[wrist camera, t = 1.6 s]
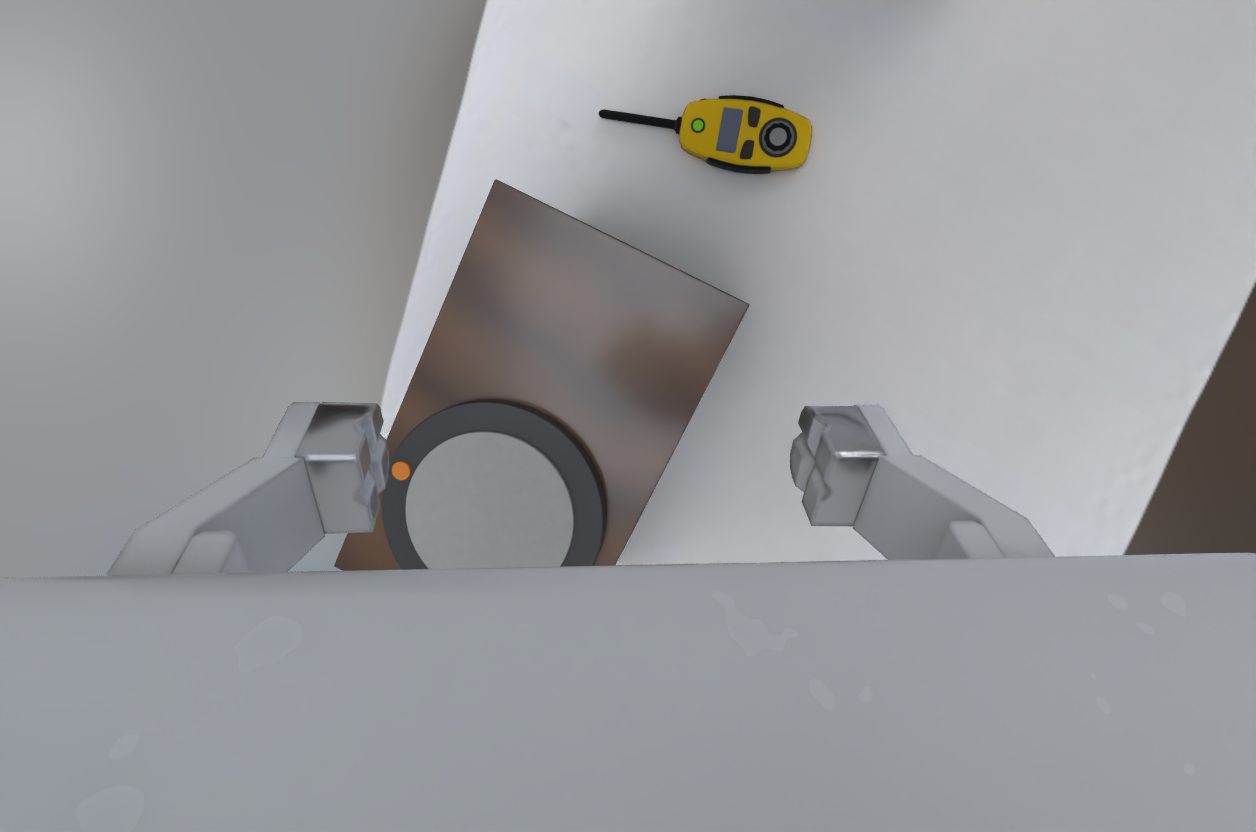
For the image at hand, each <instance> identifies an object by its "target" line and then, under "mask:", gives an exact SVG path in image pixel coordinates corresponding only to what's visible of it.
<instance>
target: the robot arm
mask: <svg viewBox="0 0 1256 832" xmlns="http://www.w3.org/2000/svg"><path fill="white" fill-rule="evenodd" d="M798 423H799V426H800V428H801V430H802V433H801V434H800V435H799V436H798V437H797V438H795V439H794V440H793V444H792V449H791V453H790V469H791V474H792V478H793V481H794V483H795V486H796V487H798V488H799V489H801V490H802V491H803V492H804V495H803V499H802V504H803V506H804V509H805V511H806V513H807V516H808V518H809V521H810V523H811V526H854V527H853V529H854V530H856V531H857V532H858V533H859V534H860V535H861V536H862V537H863V538H864V539H866V540H867V541H868V542H869V543H870V544H871V545H872V546H873V547H874V548H876V549H877V550H878V551H879V552H880V553H881V554H882V555H883V556H884V557H886V558H887V559H888V560H868V561H818V562H768V563H717V564H668V565H617V566H566V567H514V568H463V569H412V570H360V571H309V572H288V571H289V570H290V569H291V568H292V567H293V566H294V565H295V564H296V563H297V562H298V561H300V560H301V559H302V558H303V557H304V556H305V555H306V554H307V553H308V552H309V551H310V550H311V549H312V548H313V547H314V546H315V545H316V544H317V543H318V542H319V541H320V540H321V539H322V538H324V537H325V535H324V534H334V533H360V532H373V530H374V526H375V523H376V519H377V516H378V512H379V509H380V502H379V496H378V494H379V493H380V492H382V491H383V490H384V489H385V487H386V483H387V479H388V471H389V451H388V445H387V440H386V439H385V438H384V437H382V436H381V435H380V431H381V428H382V425H383V418H382V413H381V409H380V407H379V405H378V404H374V403H334V402H323V403H320V402H294V403H292V404H290V405H289V406H288V408H287V410H286V412H285V414H284V416H283V418H282V420H281V421H280V423H279V425H278V427H277V429H276V431H275V434H274V435H273V437H272V439H271V441H270V443H269V445H268V447H267V449H266V451H265V453H264V455H263V457H262V458H253V459H251V460H249V461H248V462H246V463H244V464H243V465H241V466H239V467H238V468H236V469H234V470H233V471H231V472H229V473H228V474H226V475H224V476H223V477H221V478H219V479H218V480H216V481H215V482H213V483H211V484H210V485H208V486H206V487H205V488H203V489H201V490H200V491H198V492H196V493H195V494H193V495H191V496H190V497H188V498H187V499H185V500H183V501H182V502H180V503H178V504H177V505H175V506H173V507H172V508H170V509H168V510H167V511H165V512H163V513H162V514H160V515H159V516H157V517H155V518H154V519H152V520H150V521H149V522H147V523H145V524H144V525H142V526H140V527H139V528H137V529H135V531H134V532H133V534H132V535H131V537H130V538H129V540H128V542H127V543H126V544H125V546H124V547H123V549H122V551H121V552H120V554H119V555H118V557H117V558H116V560H115V561H114V563H113V564H112V566H111V568H110V569H109V570H108V572H107V574H106V575H105V576H59V577H58V576H56V577H6V578H5V577H4V578H0V832H1256V553H1213V554H1211V553H1210V554H1168V555H1167V554H1165V555H1120V556H1070V557H1055V556H1054V554H1053V553H1052V552H1051V550H1050V549H1049V548H1048V546H1047V545H1046V543H1045V542H1044V541H1043V539H1042V538H1041V537H1040V535H1039V534H1038V533H1037V531H1036V530H1035V529H1034V527H1033V526H1032V524H1031V523H1030V522H1029V520H1028V519H1027V518H1025V517H1024V516H1022V515H1020V514H1019V513H1017V512H1015V511H1014V510H1012V509H1010V508H1008V507H1007V506H1005V505H1003V504H1002V503H1000V502H998V501H997V500H995V499H993V498H992V497H990V496H988V495H986V494H985V493H983V492H981V491H980V490H978V489H976V488H975V487H973V486H971V485H970V484H968V483H966V482H964V481H963V480H961V479H959V478H958V477H956V476H954V475H953V474H951V473H949V472H948V471H946V470H944V469H942V468H941V467H939V466H937V465H936V464H934V463H932V462H931V461H929V460H927V459H926V458H924V457H922V456H914V455H913V454H912V452H911V451H910V449H909V448H908V446H907V444H906V443H905V441H904V440H903V438H902V436H901V435H900V433H899V432H898V430H897V429H896V427H895V425H894V424H893V422H892V421H891V419H890V418H889V416H888V414H887V413H886V411H885V410H884V408H883V407H881V406H880V405H854V406H805V407H804V409H803V410H802V412H801V415H800V418H799V422H798Z"/></svg>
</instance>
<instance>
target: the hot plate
mask: <svg viewBox="0 0 1256 832" xmlns="http://www.w3.org/2000/svg"><path fill="white" fill-rule="evenodd" d="M381 505H382V519H383V524H384V529H385V534H386V537H387V540H388V543H389V546H390V548H391V550H392V553H393V555H394V557H395V559H396V561H397V562H398V564H399V566H400V567H401V569H402V570H412V569H463V568H514V567H566V566H594V564H595V562H596V560H597V557H598V555H599V553H600V550H601V547H602V543H603V540H604V536H605V528H606V503H605V497H604V491H603V488H602V484H601V481H600V478H599V475H598V473H597V470H596V468H595V466H594V464H593V462H592V460H591V459H590V457H589V455H588V454H587V452H586V451H585V449H584V448H583V447H582V445H581V444H580V443H579V441H578V440H577V439H576V438H575V437H574V436H573V435H572V434H571V433H570V432H569V431H568V430H567V429H566V428H565V427H563V426H562V425H561V424H559V423H558V422H557V421H556V420H554V419H553V418H551V417H549V416H548V415H546V414H544V413H542V412H541V411H538V410H536V409H534V408H531V407H529V406H526V405H523V404H519V403H516V402H512V401H505V400H494V399H483V400H475V401H468V402H464V403H461V404H457V405H454V406H451V407H449V408H447V409H444V410H442V411H439V412H437V413H435V414H434V415H432V416H430V417H429V418H427V419H425V420H424V421H423V422H421V423H420V424H419V425H418V426H416V427H415V428H414V429H413V430H412V431H411V432H410V433H409V434H408V435H407V436H406V437H405V439H404V440H403V441H402V443H401V444H400V446H399V447H398V448H397V450H396V452H395V454H394V456H393V458H392V460H391V462H390V464H389V471H388V479H387V483H386V487H385V489H384V490H383V491H382V504H381Z"/></svg>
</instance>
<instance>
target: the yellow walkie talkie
mask: <svg viewBox="0 0 1256 832" xmlns="http://www.w3.org/2000/svg"><path fill="white" fill-rule="evenodd" d="M599 116H600V117H602V118H605V119H612V120H618V121H625V122H631V123H638V124H644V125H651V126H657V127H664V128H671V129H675V131H676V133H677V134H680V144H681V147H682V148H683V149H684V150H685V151H687V152H688V153H690V154H692V155H694V156H697V157H699V158H701V159H704V160H707V163H708V164H710V165H713V166H716V167H719V168H721V169H726V170H730V171H734V172H740V173H752V174H764V173H770V172H771V171H775V170H787V169H793V168H797V167H800V166H801V165H802V164H803V163H804V161H805V159H806V157H807V154H808V151H809V147H810V142H811V137H812V126H811V123H810V121H809V120H808V119H807V118H805V117H803V116H801V115H799V114H797V113H794V112H792V111H789V110H787V109H784V106H783V105H781V104H778V103H775V102H772V101H769V100H765V99H761V98H756V97H750V96H736V95H732V96H719V99H701V100H700V101H694V102H691V103H689V104H688V105H687V107H686V108H685V111H684V114H683V116H682V117H678V119H677V120H670V119H663V118H656V117H650V116H643V115H637V114H630V113H623V112H617V111H610V110H601V111H599Z"/></svg>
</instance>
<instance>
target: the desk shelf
mask: <svg viewBox="0 0 1256 832" xmlns="http://www.w3.org/2000/svg"><path fill="white" fill-rule="evenodd" d="M748 307H749V304H748V303H746V302H744V301H742V300H740V299H738V298H736V297H734V296H732V295H730V294H727V293H725V292H723V291H721V290H719V289H717V288H715V287H713V286H711V285H709V284H707V283H705V282H703V281H701V280H699V279H697V278H695V277H693V276H691V275H689V274H687V273H685V272H683V271H681V270H679V269H677V268H675V267H673V266H671V265H669V264H667V263H665V262H663V261H661V260H659V259H657V258H655V257H653V256H651V255H649V254H647V253H644V252H642V251H640V250H638V249H636V248H634V247H632V246H630V245H628V244H626V243H624V242H622V241H620V240H618V239H616V238H614V237H612V236H610V235H608V234H606V233H604V232H602V231H600V230H598V229H596V228H594V227H592V226H590V225H588V224H586V223H584V222H582V221H580V220H578V219H576V218H574V217H572V216H570V215H568V214H566V213H564V212H561V211H559V210H557V209H555V208H553V207H551V206H549V205H547V204H545V203H543V202H541V201H539V200H537V199H535V198H533V197H531V196H529V195H527V194H525V193H523V192H521V191H519V190H517V189H515V188H513V187H511V186H509V185H507V184H505V183H503V182H501V181H499V180H497V179H495V181H494V183H493V185H492V188H491V190H490V193H489V195H488V197H487V200H486V202H485V205H484V207H483V209H482V212H481V214H480V217H479V219H478V221H477V224H476V226H475V229H474V231H473V233H472V236H471V238H470V241H469V243H468V245H467V248H466V250H465V253H464V255H463V257H462V260H461V262H460V265H459V267H458V269H457V272H456V274H455V277H454V279H453V281H452V284H451V286H450V289H449V291H448V293H447V296H446V298H445V301H444V303H443V306H442V308H441V310H440V313H439V315H438V318H437V320H436V322H435V325H434V327H433V330H432V332H431V334H430V337H429V339H428V342H427V344H426V346H425V349H424V351H423V354H422V356H421V358H420V361H419V363H418V366H417V368H416V370H415V373H414V375H413V378H412V380H411V382H410V385H409V387H408V390H407V392H406V394H405V397H404V399H403V402H402V404H401V406H400V409H399V411H398V414H397V416H396V418H395V421H394V423H393V426H392V428H391V430H390V433H389V435H388V438H387V445H388V451H389V464H390V462H391V460H392V458H393V456H394V454H395V452H396V450H397V448H398V447H399V446H400V444H401V443H402V441H403V440H404V439H405V437H406V436H407V435H408V434H409V433H410V432H411V431H412V430H413V429H414V428H415V427H416V426H418V425H419V424H420V423H421V422H423V421H424V420H425V419H427V418H429V417H430V416H432V415H434V414H435V413H437V412H439V411H442V410H444V409H447V408H449V407H451V406H454V405H457V404H461V403H464V402H468V401H475V400H483V399H494V400H505V401H512V402H516V403H519V404H523V405H526V406H529V407H531V408H534V409H536V410H538V411H541V412H542V413H544V414H546V415H548V416H549V417H551V418H553V419H554V420H556V421H557V422H558V423H559V424H561V425H562V426H563V427H565V428H566V429H567V430H568V431H569V432H570V433H571V434H572V435H573V436H574V437H575V438H576V439H577V440H578V441H579V443H580V444H581V445H582V447H583V448H584V449H585V451H586V452H587V454H588V455H589V457H590V459H591V460H592V462H593V464H594V466H595V468H596V470H597V473H598V475H599V478H600V481H601V484H602V488H603V491H604V497H605V503H606V528H605V536H604V540H603V543H602V547H601V550H600V553H599V555H598V557H597V560H596V562H595V564H594V566H615V565H616V563H617V561H618V559H619V557H620V555H621V553H622V551H623V549H624V547H625V545H626V543H627V541H628V539H629V537H630V536H631V534H632V532H633V530H634V528H635V526H636V524H637V522H638V520H639V518H640V516H641V514H642V512H643V510H644V508H645V506H646V505H647V503H648V501H649V499H650V497H651V495H652V493H653V491H654V489H655V487H656V485H657V483H658V481H659V479H660V477H661V475H662V474H663V472H664V470H665V468H666V466H667V464H668V462H669V460H670V458H671V456H672V454H673V452H674V450H675V448H676V446H677V444H678V443H679V441H680V439H681V437H682V435H683V433H684V431H685V429H686V427H687V425H688V423H689V421H690V419H691V417H692V415H693V413H694V412H695V410H696V408H697V406H698V404H699V402H700V400H701V398H702V396H703V394H704V392H705V390H706V388H707V386H708V384H709V382H710V381H711V379H712V377H713V375H714V373H715V371H716V369H717V367H718V365H719V363H720V361H721V359H722V357H723V355H724V353H725V351H726V350H727V348H728V346H729V344H730V342H731V340H732V338H733V336H734V334H735V332H736V330H737V328H738V326H739V324H740V322H741V320H742V319H743V317H744V315H745V313H746V311H747V309H748ZM378 496H379V502H380V509H379V512H378V516H377V519H376V523H375V526H374V530H373V532H360V533H348V534H347V537H346V538H345V541H344V543H343V546H342V548H341V551H340V553H339V555H338V558H337V560H336V563H335V565H334V566H335V567H337V568H339V569H340V570H342V571H360V570H402V569H401V567H400V566H399V564H398V562H397V561H396V559H395V557H394V555H393V553H392V550H391V548H390V546H389V543H388V540H387V537H386V534H385V529H384V524H383V519H382V505H381V504H382V492H380V493H379V494H378Z"/></svg>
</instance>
